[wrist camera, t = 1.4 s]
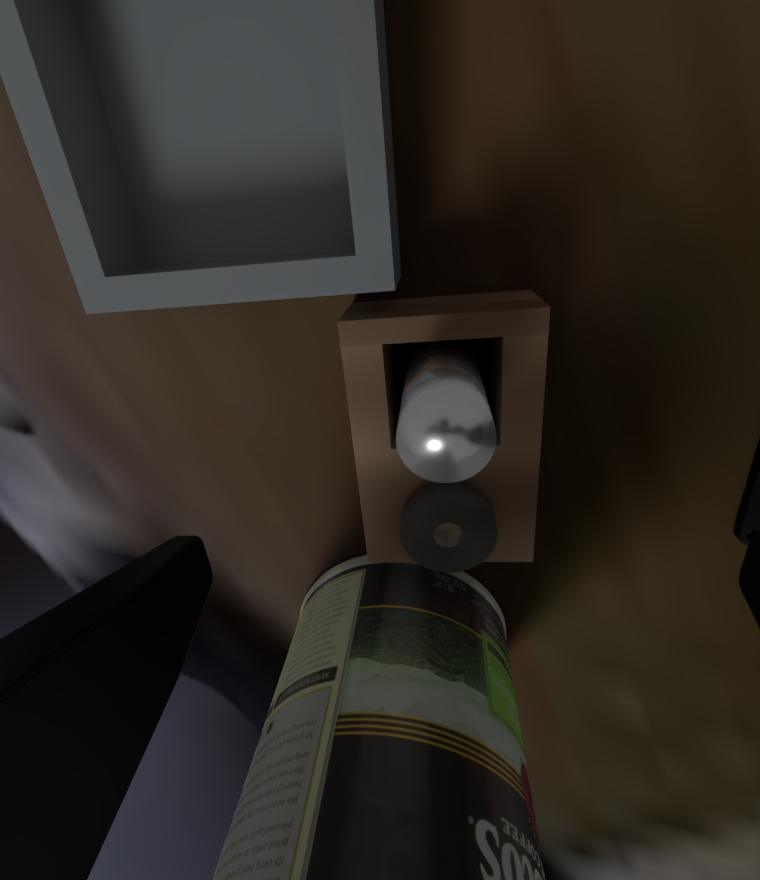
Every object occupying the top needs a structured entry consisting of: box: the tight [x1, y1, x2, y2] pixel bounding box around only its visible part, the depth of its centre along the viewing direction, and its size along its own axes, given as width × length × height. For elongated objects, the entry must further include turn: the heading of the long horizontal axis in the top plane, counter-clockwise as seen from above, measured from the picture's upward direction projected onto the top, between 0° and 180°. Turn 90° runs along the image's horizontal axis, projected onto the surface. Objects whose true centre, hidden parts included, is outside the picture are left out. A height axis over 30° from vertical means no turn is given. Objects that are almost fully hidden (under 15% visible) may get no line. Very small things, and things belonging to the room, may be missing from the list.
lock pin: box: [396, 339, 497, 483], centre depth 14 cm, size 2×2×6 cm
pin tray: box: [0, 0, 401, 314], centre depth 13 cm, size 10×10×3 cm
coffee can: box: [213, 555, 545, 880], centre depth 17 cm, size 10×10×14 cm
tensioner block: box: [337, 289, 550, 573], centre depth 16 cm, size 9×6×4 cm, turn 5°
